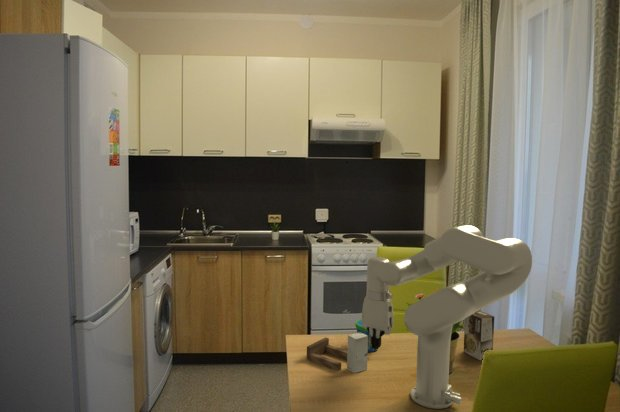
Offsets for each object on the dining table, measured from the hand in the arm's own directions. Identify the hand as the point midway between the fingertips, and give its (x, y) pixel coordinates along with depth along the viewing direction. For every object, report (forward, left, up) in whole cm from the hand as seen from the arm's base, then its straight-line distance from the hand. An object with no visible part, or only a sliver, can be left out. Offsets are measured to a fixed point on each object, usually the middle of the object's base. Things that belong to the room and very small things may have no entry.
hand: (375, 347), depth 145 cm
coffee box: (-22, -40, -10) cm, 47 cm away
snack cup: (+13, -18, -10) cm, 24 cm away
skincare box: (+7, 0, -10) cm, 12 cm away
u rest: (+17, 0, -10) cm, 20 cm away
